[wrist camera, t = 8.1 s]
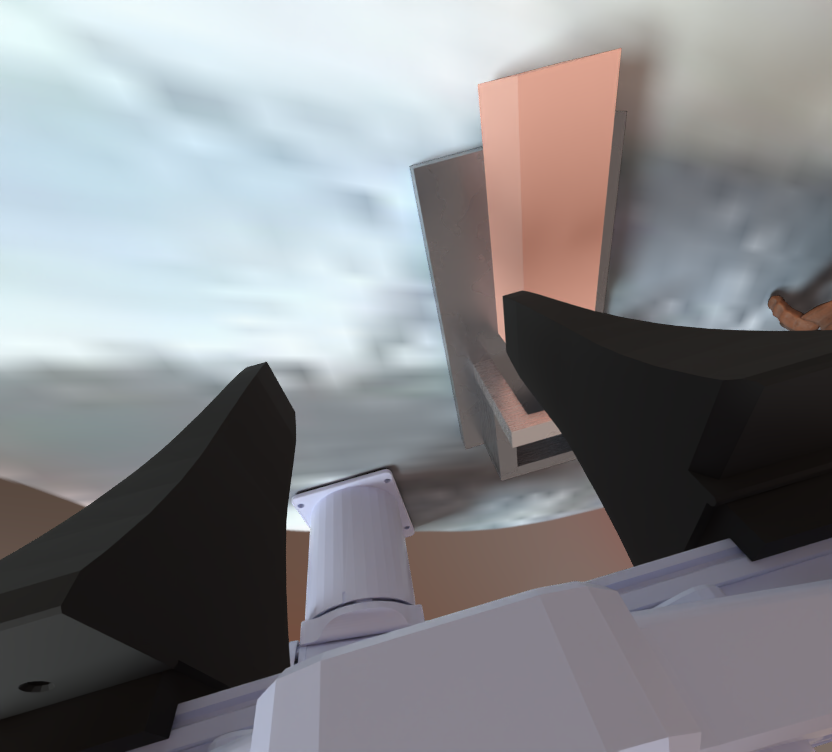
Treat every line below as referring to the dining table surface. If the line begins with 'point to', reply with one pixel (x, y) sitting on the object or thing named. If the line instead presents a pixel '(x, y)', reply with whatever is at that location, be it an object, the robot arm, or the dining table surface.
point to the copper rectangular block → (549, 176)
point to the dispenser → (489, 311)
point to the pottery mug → (801, 315)
